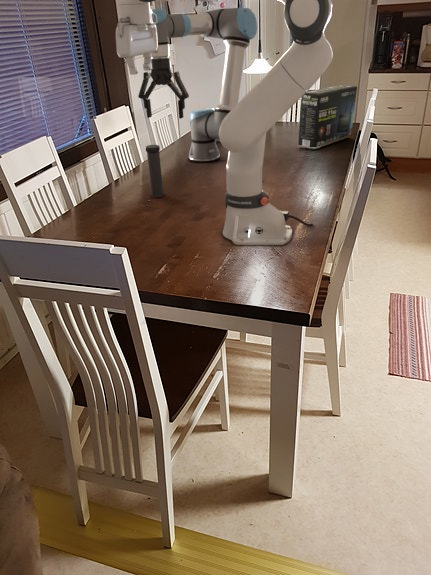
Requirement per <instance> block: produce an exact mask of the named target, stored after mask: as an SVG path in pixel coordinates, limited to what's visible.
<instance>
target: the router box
mask: <svg viewBox="0 0 431 575" xmlns="http://www.w3.org/2000/svg"><path fill="white" fill-rule="evenodd" d="M357 93H358V86H356V85H350V84H339V85H338V84H337V85H334V86H328V87H324V88H318V89H314V90H308V91H307V92H306V93H305V94H304V95H303V96H302V97H301V98H300V109H299V110H300V111H299V124H298V137H297V146H298V145H302V146H307V147H317V146H320V145H323V144H325V143H328V142H331V141H333V140H336V139H338V138H341V137H344V136H347V135H351V136H352V133H353V132H352V131H353V125H354V115H355V109H356V99H357ZM311 151H313V150H312V149H311Z"/></svg>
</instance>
